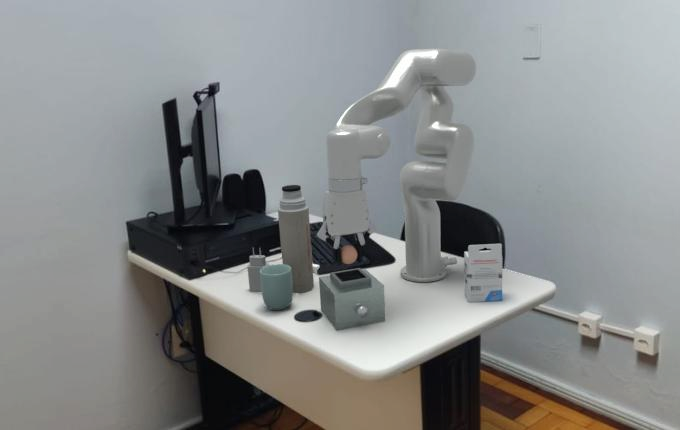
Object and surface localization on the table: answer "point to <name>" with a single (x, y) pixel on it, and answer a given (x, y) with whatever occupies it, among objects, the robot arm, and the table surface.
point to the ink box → (483, 273)
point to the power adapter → (255, 271)
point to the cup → (276, 286)
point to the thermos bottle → (296, 237)
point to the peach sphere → (348, 254)
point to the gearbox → (352, 298)
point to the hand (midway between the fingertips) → (348, 261)
